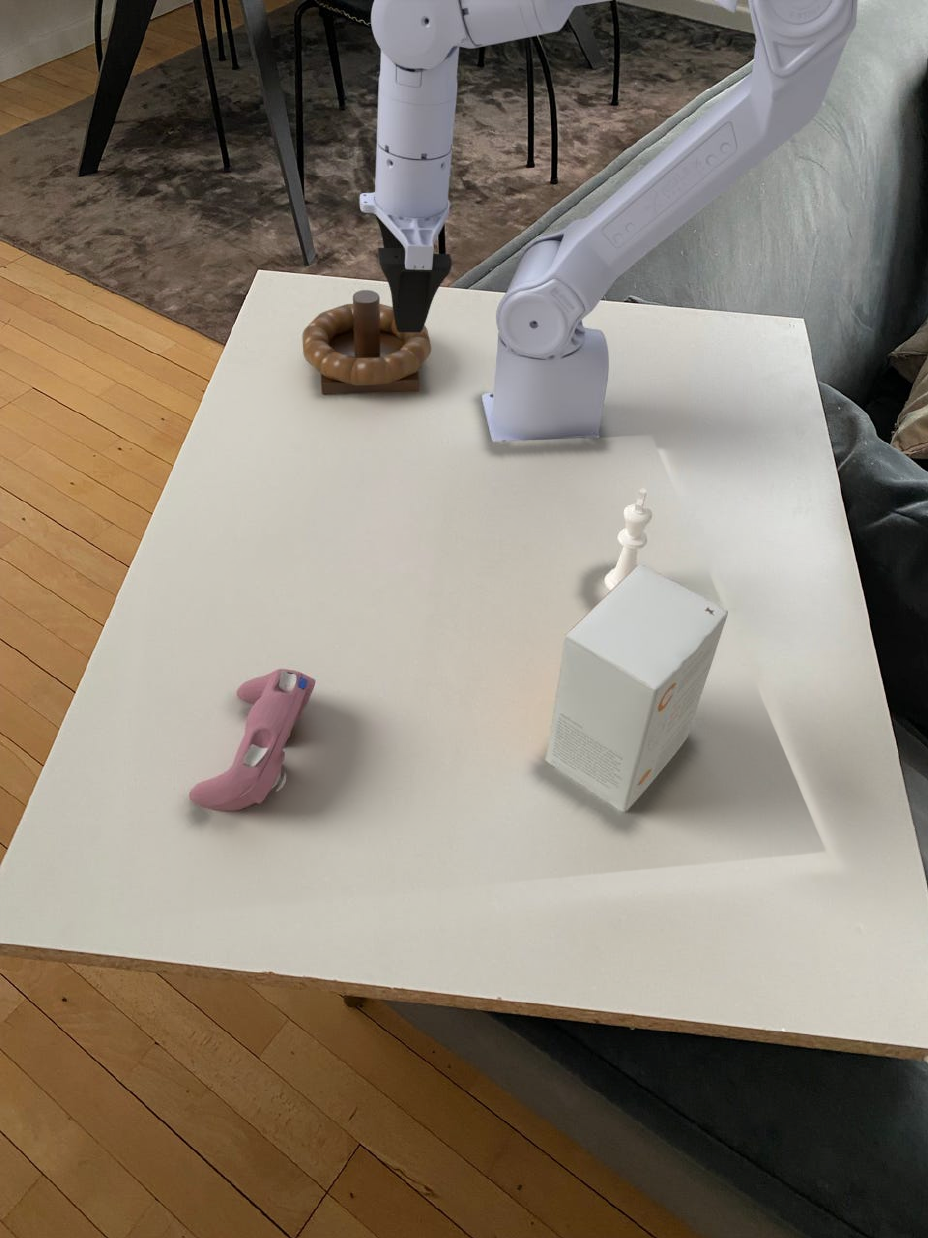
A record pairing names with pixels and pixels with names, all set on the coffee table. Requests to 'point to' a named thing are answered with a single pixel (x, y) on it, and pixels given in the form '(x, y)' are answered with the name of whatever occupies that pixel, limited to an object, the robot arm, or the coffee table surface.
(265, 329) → the coffee table surface
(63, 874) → the coffee table surface
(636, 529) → the chess piece
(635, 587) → the small box
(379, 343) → the peg stand
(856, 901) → the coffee table surface
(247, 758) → the video game controller
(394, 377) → the segmented brown ring
